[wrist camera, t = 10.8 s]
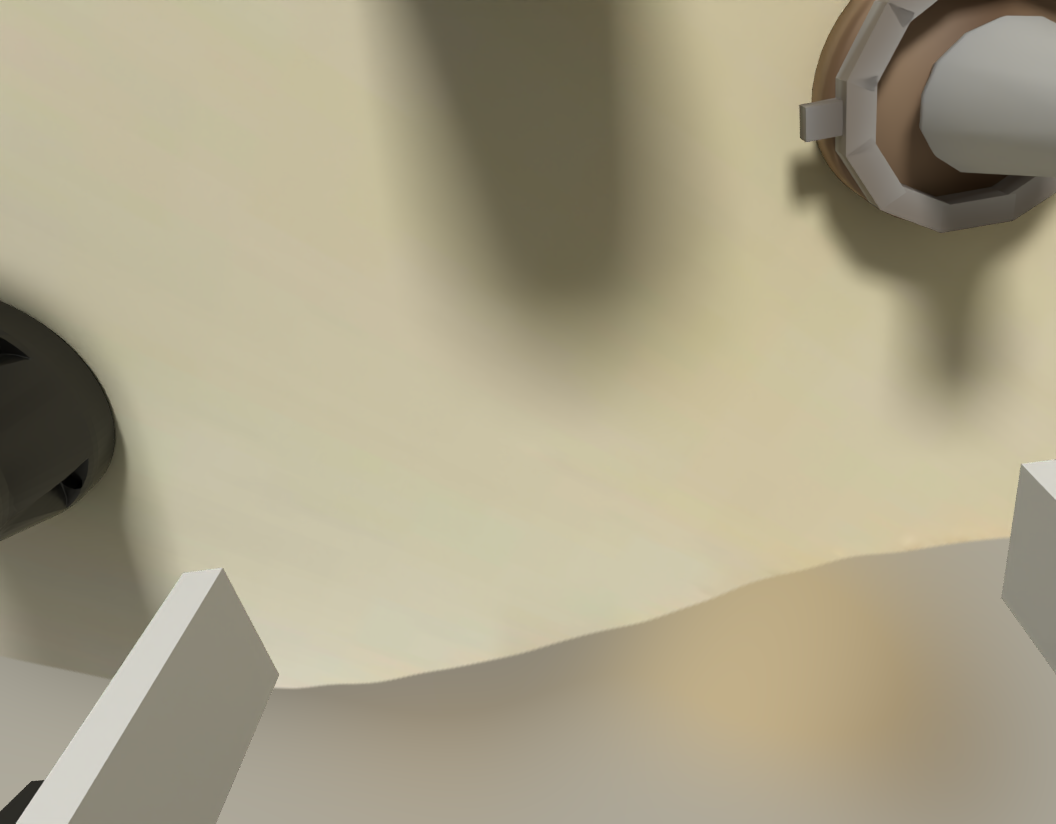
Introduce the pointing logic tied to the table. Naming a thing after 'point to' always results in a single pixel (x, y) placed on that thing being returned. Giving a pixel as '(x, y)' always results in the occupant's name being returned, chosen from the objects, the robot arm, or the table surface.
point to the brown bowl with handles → (907, 112)
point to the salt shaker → (995, 99)
